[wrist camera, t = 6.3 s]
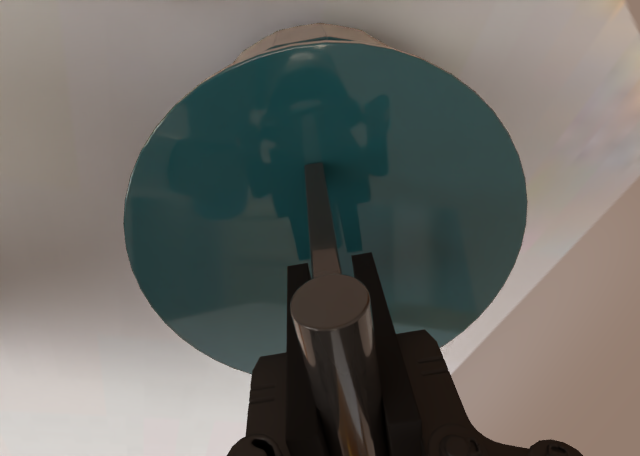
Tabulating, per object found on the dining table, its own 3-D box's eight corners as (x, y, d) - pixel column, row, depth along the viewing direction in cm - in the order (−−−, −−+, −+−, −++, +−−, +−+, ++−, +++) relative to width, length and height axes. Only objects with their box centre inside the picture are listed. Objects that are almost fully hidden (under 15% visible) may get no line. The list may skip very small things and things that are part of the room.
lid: (204, 385, 22) (156, 612, 14) (54, 85, 14) (-287, 234, 6) (498, 339, 22) (619, 547, 14) (537, -5, 13) (931, 18, 5)
